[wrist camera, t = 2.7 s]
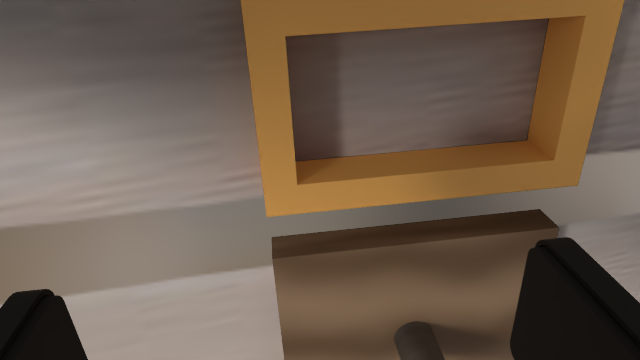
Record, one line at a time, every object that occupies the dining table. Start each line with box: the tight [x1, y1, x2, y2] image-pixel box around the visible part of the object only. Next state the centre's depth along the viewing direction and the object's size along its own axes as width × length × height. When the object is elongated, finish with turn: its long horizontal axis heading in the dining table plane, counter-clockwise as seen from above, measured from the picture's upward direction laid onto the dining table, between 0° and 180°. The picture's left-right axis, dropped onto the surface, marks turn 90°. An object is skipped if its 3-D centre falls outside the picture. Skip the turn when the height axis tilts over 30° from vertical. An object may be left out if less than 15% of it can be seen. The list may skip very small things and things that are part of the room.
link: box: [241, 0, 624, 217], centre depth 21 cm, size 16×10×3 cm, turn 93°
